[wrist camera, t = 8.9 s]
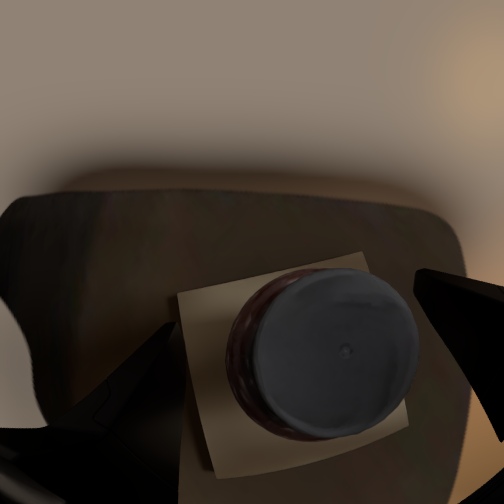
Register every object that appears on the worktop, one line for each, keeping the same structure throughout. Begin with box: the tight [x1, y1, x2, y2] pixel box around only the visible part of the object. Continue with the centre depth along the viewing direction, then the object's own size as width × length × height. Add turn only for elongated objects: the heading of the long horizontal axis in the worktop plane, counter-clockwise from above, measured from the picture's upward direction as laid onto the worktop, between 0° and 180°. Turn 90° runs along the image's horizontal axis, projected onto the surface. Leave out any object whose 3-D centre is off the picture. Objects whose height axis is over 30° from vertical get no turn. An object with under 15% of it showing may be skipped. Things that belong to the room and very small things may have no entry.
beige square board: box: [177, 252, 409, 479], centre depth 16 cm, size 13×13×1 cm
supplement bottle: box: [225, 268, 420, 442], centre depth 10 cm, size 6×6×11 cm
